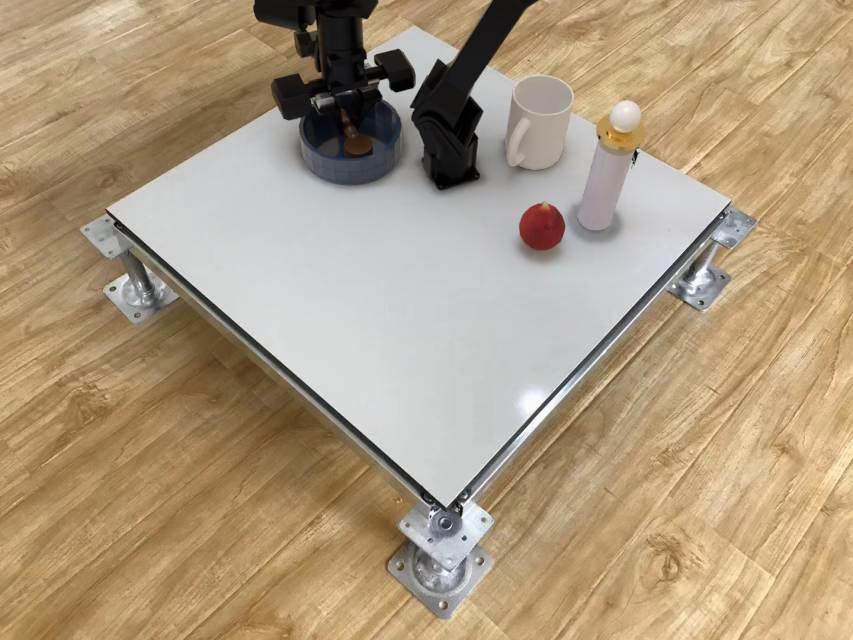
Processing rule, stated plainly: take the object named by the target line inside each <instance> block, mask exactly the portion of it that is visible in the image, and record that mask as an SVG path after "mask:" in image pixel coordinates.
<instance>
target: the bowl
mask: <svg viewBox="0 0 853 640" xmlns="http://www.w3.org/2000/svg"><path fill="white" fill-rule="evenodd" d="M335 99H336V101H337V103H338V105H339V107H340V108H343V109H345V110H346V111H347V113H348V115H349V116H350V118H351V91H347V92H343V93H339V94H336V95H335ZM312 108H313V110H312V111H311V112H310V114H309V115H308V116H305V117H301V118H299V119H300V120H299V122H298V134H299V141H300V147H301V148H300V149H301V155H302V158H303V161H304V163H305V165H306V167H307V168H308V169H309V170H310V171H311V172H312V173H313V174H314V175H316V176H317V177H319V178H320V179H322V180H324V181H326V182H329V183H333V184H336V185H343V186H358V185H359V186H360V185H365V184H369V183H371V182H375V181H378V180H380V179H382V178H384V177H385V176H386V175H388V174H389V173H391V172H392V170H394V168H395V167H396V166H397V164H398V163H399V161H400V159H401V155H402V150H403V149H402V148H403V125H402V118H401V116H400V113H398V111H397V109H396V108H395V107H394V106H393V105H392V104H390V102H388V101H387V100H385V99H383V98H382V100H381V101H379V102H377V103H376V104H375V105H374V106H373V108H372V109H371V110H370V112H369V113H368V114H367V116H366V118H365V119H364V121H363V123H362V124H361V126H360V128H359V130H358V133H359V134H362V135H366V136H368V137H369V138H370V139H371V140H372V142H373V155H370V156H366V157H362V158H353V159H345V154H344V141H345V140H346V139H347V138H346V136H345V134H344V132H343V135H342V136H340V134H339V132H338V130H337V128H336V126H335V124H334V122H333V121H332V120H331V119H330V118H329V117H328V116H327V115H326V116H321V115H319V113H318V111H317V109H316V108H315V106H314V104H313V103H312Z"/></svg>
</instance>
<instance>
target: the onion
mask: <svg viewBox="0 0 853 640" xmlns="http://www.w3.org/2000/svg"><path fill="white" fill-rule="evenodd" d="M518 231H519V236H520V238H521V239H522V241H523V243H524V244H525V245H526V246H527V247H529V248H530V249H532V250H535V251H539V252H540V251H543V252H545V251H548V250H552V249H553V248H555V247H556V246H557V245H559V244H560V243H561V242H562V240H563V238H564V235H565V232H566V222H565V219H564V215H563V214H562V213H561V212H560V211H559V209H558V208H557V207H556V206H555V205H553V204H550V203H547V201H542V202H541V203H540V202H538V203H536V204H533V205H532V206H529V208H527V209H526V210H525V211H524V213H522V216H521V218H520V221H519V223H518Z"/></svg>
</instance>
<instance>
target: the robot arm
mask: <svg viewBox="0 0 853 640" xmlns="http://www.w3.org/2000/svg"><path fill="white" fill-rule="evenodd" d="M539 1H540V0H490V1H489V3H488V4H487V6H486V7H485V9H484V10H483V12H482V14H481V15H480V17H479V19H478V20H477V22H476V23H475V25H474V27H473V28H472V30H471V31H470V32H469V34H468V36H467V37H466V40H465V41H464V42H463V44H462V46H461V47H460V48H459V50H458V52H457V53H456V55H455V56H454V58H452V60H451V61H450V62H448V63H445V62H444V61H442V60H441V59H440V58H437V59H436V61H435V62H434V64H433V66H432V68H431V69H430V71H429V74H426V76H425V78H424V80H423V81H422V83H421V85H420V87H419V89H418V90H417V92H416V94H415V96H414V98H413V100H412V101H411V104H410V105H409V108H410V109H412V113H411V116H410V119H411V122H412V123H413V125H414V127H415V128H416V129H417V131H418V133H419V135H420V138H421V141H422V144H423V156H422V157H421V163H422V167H423V170H424V171H425V173H426V175H427V176H428V178H429V179H430V180H431V181H432V182H433V183H434V185H435V187H436V189H437V190H439V191H443V190H446V189H449V188H453V187H457V186H460V185H463V184H466V183H470V182H474V181H476V180H479V179H480V178H481V174H480V172H479V170H478V169H477V167H476V165H477V155H478V148H479V147H478V145H479V136H478V134H476V133H477V132H476V129H477V127H478V125H479V124H480V121H481V118H482V117H483V114H484V109H483V108H482V107H481V105H479V103H478V102H477V101H476V100H475V99H474V98H473V97H472V95H471V94H472V91H473V90H474V86H475V84H476V83H477V81H478V80H479V79H480V77H481V75H482V74H483V72H484V71H485V69H486V68H487V66H488V65H489V64H490V62H491V60H492V59H493V58H494V57H495V55H496V54H497V53H498V51H499V49H500V48H501V46H502V45H503V43H504V42H505V40H506V39H507V37H508V36H509V35H510V33H511V32H512V30H513V29H514V28H515V26H516V25H517V23H518V21H519V20H520V19H521V17H522V16H523V14H524V13H525V12H526V10H528V9H529V8H530V7H532V6H533V5H534V4H536V3H538V2H539ZM379 3H380V2H379V0H254V3H253V6H252V10H253V15H254V17H255V19H256V21H257V22H258V23H262V24H266V25H270V26H274V27H279V28H282V29H286V30H290V31H293V40H294V47H295V51H296V53H297V55H298V56H299V57H300V58H301V59H305V58H309V57H310V58H311V59H313V61H314V68H315V70H316V72H317V74H319V73H321V77H319V78H314V79H311V80H308V81H307V83H305V82H304V80H303V78H302V77H301V75H300V73H298V72H296V73H293V74H288V75H284V76H281V77H276V78H274V79H273V80H272V82H271V84H270V91H271V95H272V98H273V100H274V102H275V104H276V106H277V109H278V110H279V113H280V114H281V117H282V119H283V120H285V121H288V122H289V121H293V120H297V119H298V120H299V119H301V117H305V116H308V115H309V114H310V112H311V111H312V110H313V108H312V104H314V106H315V108H316V109H317V111H318V113H319V115H321V116H326V115H327V116H328V117H329V118H330V119H331V120H332V121H333V122H334V124H335V126H336V128H337V130H338V132H339V134H340V136H342V135H343V132H344V128H343V121H342V114H341V108H340V107H339V105H338V103H337V101H336V99H335V95H336V94H339V93H343V92H351V120H352V122H353V124H354V126H355V128H356V129H357V131H358V130H359V128H360V126H361V124H362V123H363V121H364V119H365V118H366V116H367V114H368V113H369V112H370V110H371V109H372V108H373V106H374V105H375V104H376V103H377V102H379V101H381V100H382V99H383V98H384V97H383V94H382V93H381V91H380V89H379V86H380V83H381V81H384V80H387V81H388V88H389V89H390V91H392V92H394V93H395V94H397V93H401V92H406V91H409V90H413V89H415V87H416V85H417V74H416V71H415V68H414V66H413V64H412V63H411V62H410V60H409V58H408V57H407V56H406V54H405V52H404V51H403V50H402V49H400V48H395V49H392V50H391V49H390V50H386V51H382V52H379V53H376V54H374V55H373V63H374V65H375V66H371V64H370V63H369V62H366V63H365V61H366V60H368V52H367V51H366V49H365V45H364V24H363V23H364V22H363V20H369V19H370V17H371V16H372V14H373V12H374V11H375V9H376V8H377V6H378V5H379ZM314 24H316V25H315V26H316V30H311V31H308V30H307V29H308V27H309V26H310V27H312V26H313V25H314Z"/></svg>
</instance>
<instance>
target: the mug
mask: <svg viewBox="0 0 853 640" xmlns="http://www.w3.org/2000/svg"><path fill="white" fill-rule="evenodd" d="M574 102H575V94H574V91H573V89H572V88H571V86H570V85H569V84H568V83H567V82H565V81H564V80H563V79H560V78H558V77H555V76H552V75H548V74H532V75H527V76H525V77H522V78H521V79H519V80H518V81H517V82H516V83H515V85H514V86H513V88H512V93H511V100H510V107H509V112H508V119H507V126H506V134H505V141H504V150H505V154H506V157H505V158H506V163H507V165H508V166H510V167H511V168H513V167H517V166H518V167H520V168H522V169H525V170H532V171H539V170H545V169H548V168H550V167H552V166H554V165H556V163H557V162H558V161H559V160H560V158H561V155H562V153H563V150H564V146H565V141H566V136H567V133H568V127H569V124H570V121H571V115H572V110H573V106H574Z"/></svg>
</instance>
